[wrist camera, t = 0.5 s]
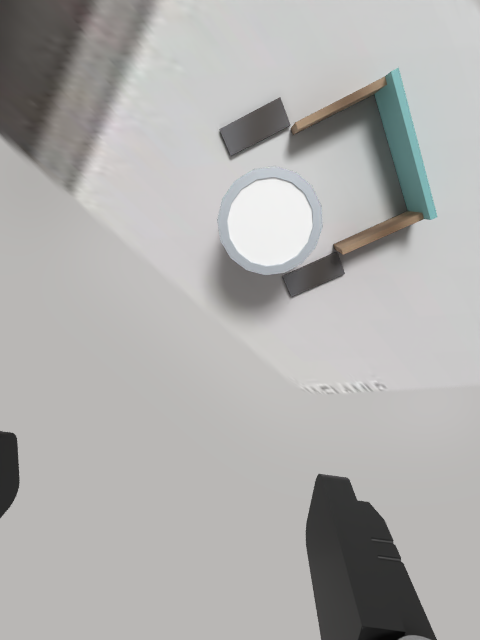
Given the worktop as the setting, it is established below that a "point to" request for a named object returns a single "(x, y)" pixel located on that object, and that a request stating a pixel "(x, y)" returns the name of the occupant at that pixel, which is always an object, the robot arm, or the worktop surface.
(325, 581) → the robot arm
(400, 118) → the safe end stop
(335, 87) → the worktop surface
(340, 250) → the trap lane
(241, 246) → the white cup
